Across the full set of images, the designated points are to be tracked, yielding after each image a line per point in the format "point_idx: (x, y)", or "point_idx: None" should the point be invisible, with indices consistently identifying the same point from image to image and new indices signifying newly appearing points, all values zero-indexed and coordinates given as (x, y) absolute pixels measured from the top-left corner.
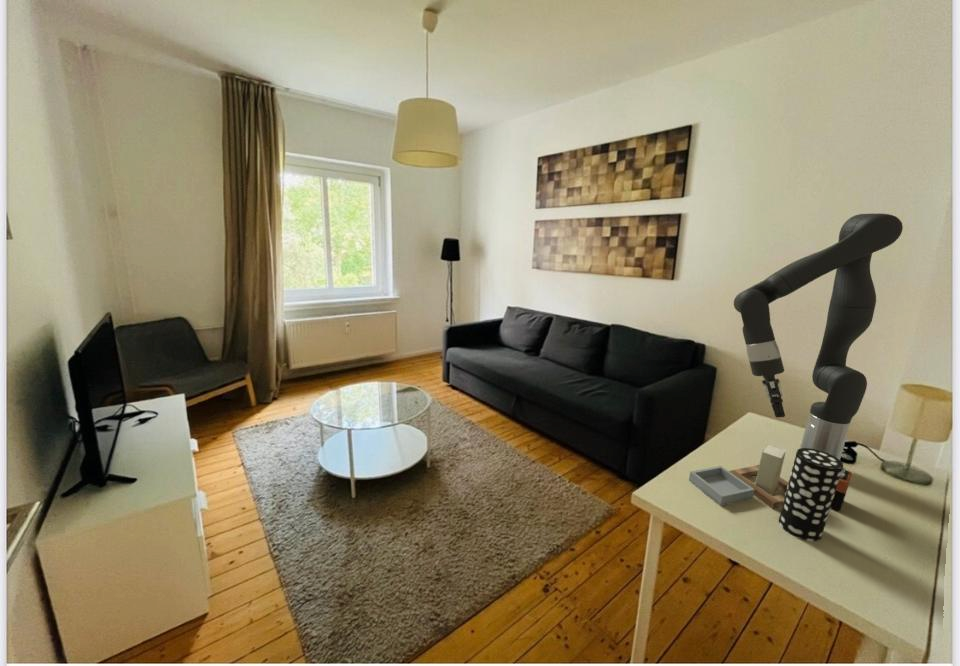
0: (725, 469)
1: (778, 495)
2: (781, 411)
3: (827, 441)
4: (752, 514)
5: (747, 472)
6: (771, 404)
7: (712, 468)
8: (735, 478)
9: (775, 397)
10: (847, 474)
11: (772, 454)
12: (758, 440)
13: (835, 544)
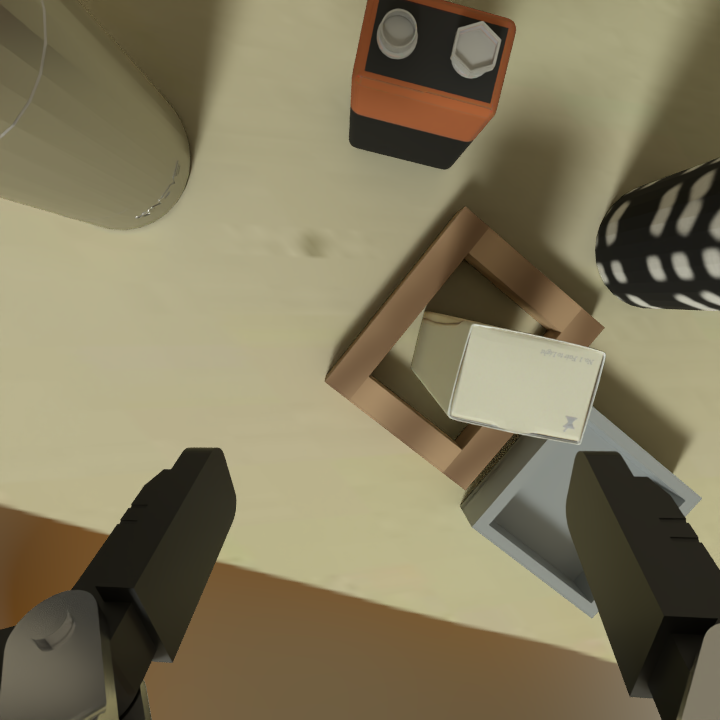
0: (491, 508)
1: (542, 313)
2: (689, 531)
3: (95, 59)
4: (659, 385)
5: (430, 424)
6: (207, 570)
7: (515, 552)
8: (537, 467)
9: (140, 620)
10: (424, 9)
11: (582, 394)
12: (15, 385)
13: (683, 144)
